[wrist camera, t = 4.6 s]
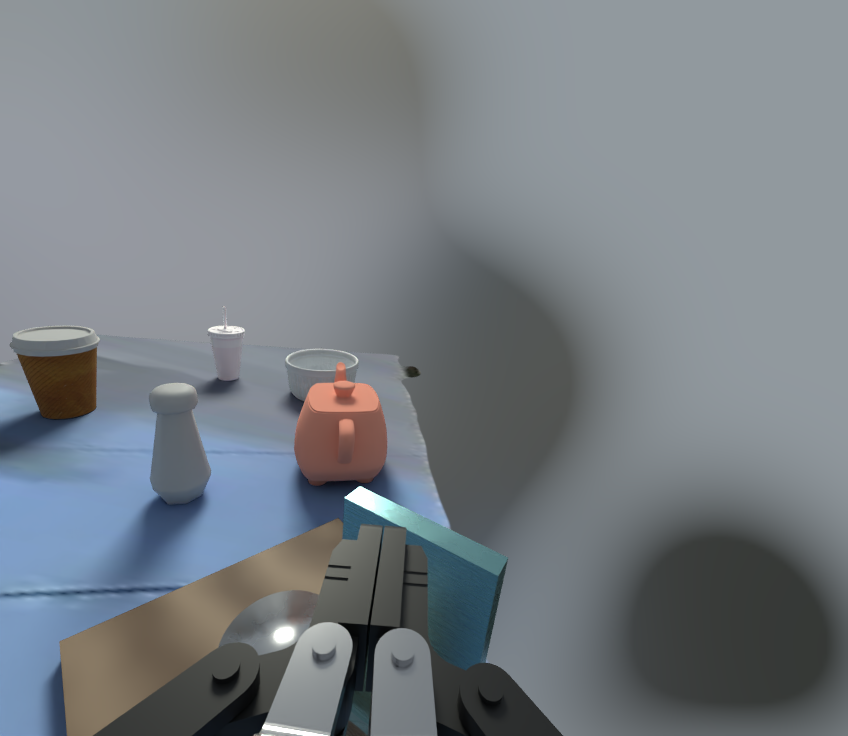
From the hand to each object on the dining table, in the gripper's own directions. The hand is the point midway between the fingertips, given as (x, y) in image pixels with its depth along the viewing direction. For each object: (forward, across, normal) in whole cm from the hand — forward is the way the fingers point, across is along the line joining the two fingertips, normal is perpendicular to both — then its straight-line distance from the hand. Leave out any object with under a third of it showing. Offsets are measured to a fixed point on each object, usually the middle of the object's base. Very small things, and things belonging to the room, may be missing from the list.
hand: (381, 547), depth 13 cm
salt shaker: (+28, +24, +21) cm, 42 cm away
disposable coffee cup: (+45, +51, +20) cm, 70 cm away
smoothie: (+64, +36, +20) cm, 76 cm away
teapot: (+38, +8, +21) cm, 44 cm away
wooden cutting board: (+9, +6, +21) cm, 24 cm away
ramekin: (+61, +17, +20) cm, 67 cm away
